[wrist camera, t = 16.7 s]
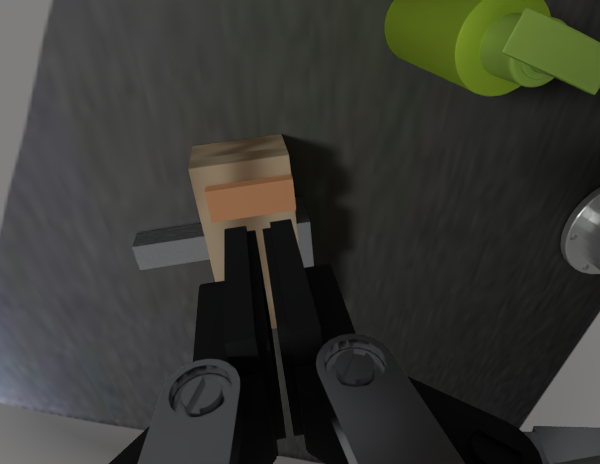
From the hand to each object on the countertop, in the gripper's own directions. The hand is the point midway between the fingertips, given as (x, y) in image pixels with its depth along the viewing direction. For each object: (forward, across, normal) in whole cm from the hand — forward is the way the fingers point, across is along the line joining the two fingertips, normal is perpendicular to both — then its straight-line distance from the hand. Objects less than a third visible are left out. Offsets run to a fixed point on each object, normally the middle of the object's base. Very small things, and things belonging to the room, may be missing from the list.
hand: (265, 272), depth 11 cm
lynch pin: (+29, +4, +15) cm, 33 cm away
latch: (+24, 0, +9) cm, 25 cm away
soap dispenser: (+29, -15, -2) cm, 33 cm away
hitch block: (+29, +1, +15) cm, 33 cm away
